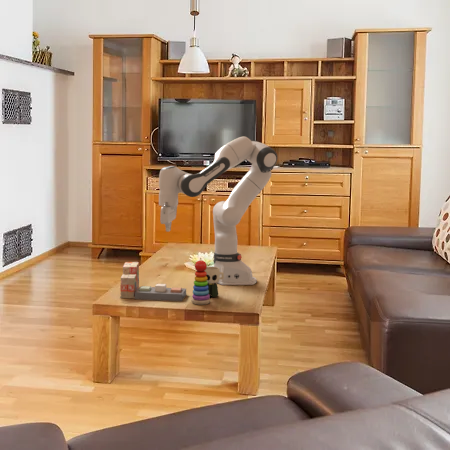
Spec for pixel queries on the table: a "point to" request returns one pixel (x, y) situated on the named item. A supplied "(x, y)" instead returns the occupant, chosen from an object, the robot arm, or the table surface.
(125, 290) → the stack of blocks
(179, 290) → the terracotta button
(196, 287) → the stacking toy
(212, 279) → the character mug
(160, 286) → the cream button
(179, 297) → the button panel
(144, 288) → the sage button
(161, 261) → the table surface
